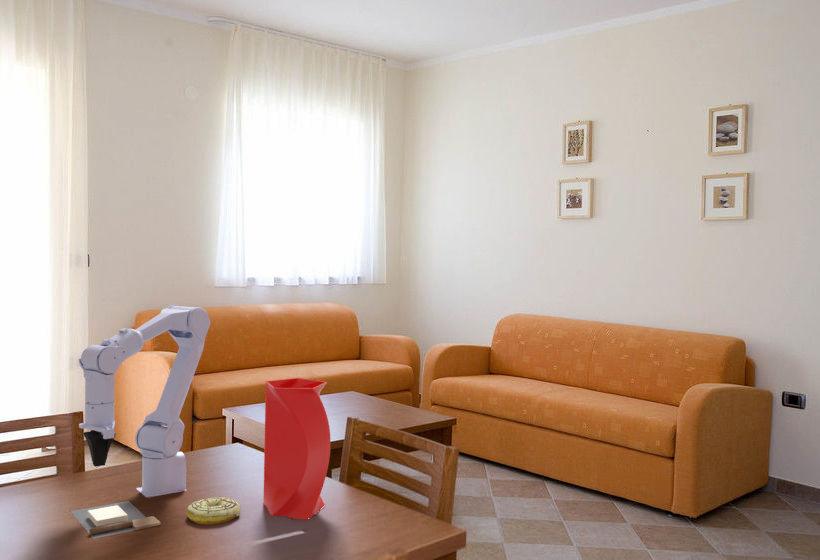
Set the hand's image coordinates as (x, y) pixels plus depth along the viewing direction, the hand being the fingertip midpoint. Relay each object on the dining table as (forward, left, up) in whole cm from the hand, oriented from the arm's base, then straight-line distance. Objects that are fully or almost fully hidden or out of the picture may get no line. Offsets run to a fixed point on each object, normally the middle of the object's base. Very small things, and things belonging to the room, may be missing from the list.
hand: (99, 465), depth 157 cm
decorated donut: (-19, +16, -11) cm, 27 cm away
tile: (0, +3, -9) cm, 9 cm away
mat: (-1, +6, -10) cm, 12 cm away
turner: (-1, +13, -10) cm, 16 cm away
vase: (-35, +20, -11) cm, 42 cm away
